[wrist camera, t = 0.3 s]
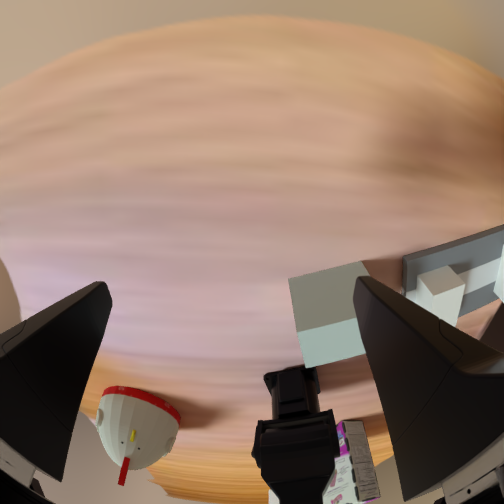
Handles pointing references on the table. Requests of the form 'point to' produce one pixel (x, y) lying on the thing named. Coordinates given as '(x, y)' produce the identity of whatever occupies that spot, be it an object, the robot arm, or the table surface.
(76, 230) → the table surface
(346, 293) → the block
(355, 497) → the candy bar box
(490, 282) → the board
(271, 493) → the medicine bottle
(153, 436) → the kitchen timer
